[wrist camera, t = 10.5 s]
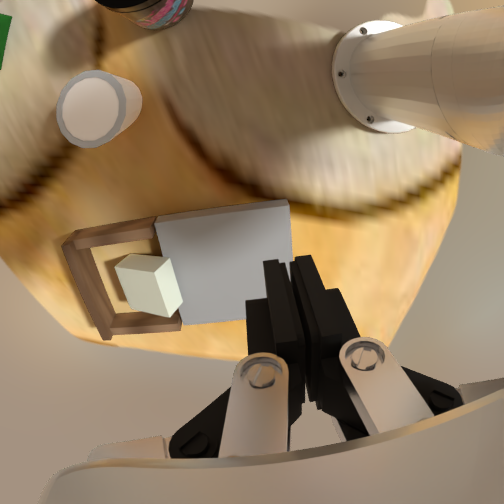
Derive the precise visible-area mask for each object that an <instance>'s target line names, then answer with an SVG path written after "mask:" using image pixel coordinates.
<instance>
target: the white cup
mask: <svg viewBox="0 0 504 504" xmlns="http://www.w3.org/2000/svg"><path fill="white" fill-rule="evenodd" d="M141 109H142V95H141V92H140V90H139V88H138V87H137V86H136V85H135V84H134V83H133V82H132V81H130V80H127V79H125V78H122V77H119V76H116V75H113V74H110V73H107V72H104V71H101V70H91V71H84V72H82V73H80V74H79V75H77V76H75V77H73V78H72V79H71V80H70V81H69V82H68V83H67V85H66V86H65V87H64V88H63V89H62V91H61V94H60V97H59V99H58V102H57V122H58V125H59V128H60V131H61V133H62V134H63V135H64V136H65V137H66V139H67V140H68V141H69V142H70V143H72V144H74V145H77V146H79V147H81V148H97V147H99V146H101V145H103V144H105V143H107V142H109V141H110V140H112V139H113V138H114V137H116V136H117V135H118V134H120V133H121V132H122V131H124V130H125V129H126V128H128V127H129V126H130V125H131V124H132V123H133V122H134V121H135V120H136V119H137V118H138V116H139V114H140V112H141Z"/></svg>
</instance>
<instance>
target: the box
mask: <svg viewBox="0 0 504 504" xmlns="http://www.w3.org/2000/svg"><path fill="white" fill-rule="evenodd" d="M156 220H157V219H156V217H150V218H143V219H137V220H131V221H125V222H119V223H114V224H108V225H102V226H97V227H91V228H86V229H81V230H75V231H74V233H73V234H72V235H71V236H70V237H69V238H68V239H67V240H66V241H65V242H64V243H63V245H62V246H61V247H62V250H63V252H64V255H65V257H66V260H67V262H68V265H69V267H70V270H71V272H72V275H73V277H74V280H75V282H76V284H77V287H78V289H79V291H80V293H81V296H82V298H83V300H84V302H85V304H86V307H87V309H88V311H89V313H90V315H91V317H92V319H93V321H94V323H95V325H96V327H97V329H98V331H99V333H100V335H101V337H102V339H103V340H111V339H112V336H113V335H124V334H143V333H158V332H172V331H181V325H182V318H181V315H180V312H179V309H177V310H176V311H175V312H174V313H173V314H172V316H171V317H170V318H169V317H164V316H160V315H155V314H151V313H147V312H133V313H120V314H116V313H115V311H114V309H113V306H112V304H111V302H110V299H109V297H108V294H107V292H106V290H105V287H104V285H103V282H102V279H101V277H100V274H99V272H98V269H97V266H96V264H95V261H94V258H93V256H92V253H91V250H90V248H91V247H98V246H104V245H111V244H117V243H124V242H130V241H137V240H144V239H151V238H153V236H154V234H155V232H156V228H155V224H154V223H155V221H156Z"/></svg>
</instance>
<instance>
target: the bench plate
mask: <svg viewBox="0 0 504 504" xmlns="http://www.w3.org/2000/svg"><path fill="white" fill-rule="evenodd" d="M154 224H155V228H156V232H157V235H158V239H159V243H160V247H161V251H162V254H163V257H169V258H170V260H171V263H172V267H173V270H174V273H175V277H176V280H177V284H178V287H179V290H180V293H181V297H182V300H183V302H182V304H181V305H180V306H179V307H178V309H179V312H180V315H181V318H182V322H183V325H194V324H205V323H215V322H225V321H234V320H243V319H246V307H245V300H252V299H261V298H267V296H266V286H265V277H264V268H263V261H265V260H273V259H278V260H279V263H283V262H285V264H286V268H287V271H288V275H289V279H290V266H289V262H291V261H293V254H292V238H291V222H290V208H289V204H288V201H287V199H282V200H273V201H264V202H256V203H248V204H240V205H232V206H225V207H217V208H210V209H203V210H196V211H189V212H182V213H175V214H169V215H162V216H158V218H157V220H156V221H155V223H154Z"/></svg>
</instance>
